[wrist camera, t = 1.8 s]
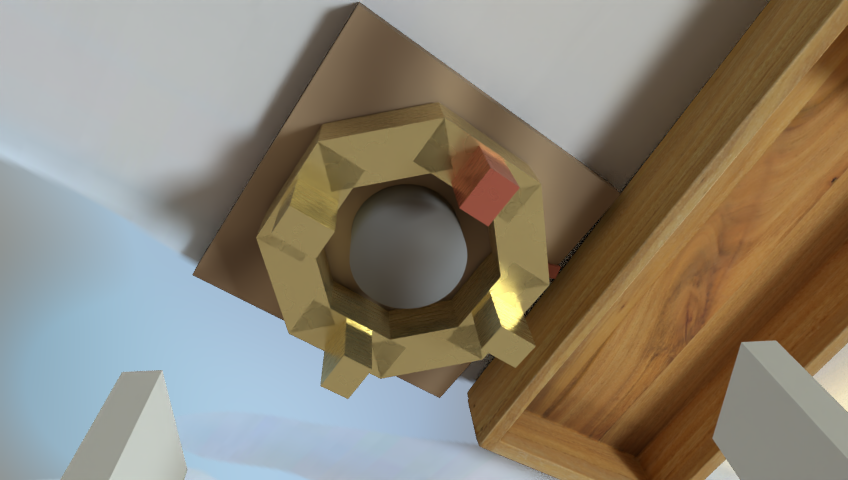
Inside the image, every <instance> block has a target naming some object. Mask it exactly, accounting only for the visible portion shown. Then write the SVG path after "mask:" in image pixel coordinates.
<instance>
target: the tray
mask: <svg viewBox="0 0 848 480" xmlns="http://www.w3.org/2000/svg"><path fill="white" fill-rule="evenodd" d="M525 320H526V322H527V325H528V327H529V330H530V332H531V335H532V337H533V340H534V342H535V345H536V347H535V348H534V349H533V350H532V351H531V352H530V353H529V354H528V355H527V356H526V357H525V358H524V359H523V361H522V362H521V363H520V364H519V365H518V366H517V367H516V368H515V367H513V366H511V365H509V364H508V363H506V362H504V361H502V360H500V359H498V358H497V357H495V358H494V359H493V360H492V361H491V363H490V364H489V365H488V366H487V368H486V369H485V370H484V371H483V373H482V374H481V375H480V377H479V378H478V379H477V380H476V382H475V383H474V384H473V386H472V387H471V388H470V390H469V391H468V393H467V394H468V398H469V399H468V403H469V408H470V412H471V416H472V421H473V425H474V429H475V434H476V439H477V441H478V444H479V446H480V447H482V448H484V449H487V450H489V451H491V452H494V453H496V454H499V455H501V456H504V457H506V458H508V459H511V460H513V461H516V462H518V463H521V464H523V465H526V466H528V467H531V468H533V469H535V470H538V471H540V472H543V473H545V474H548V475H550V476H553V477H555V478H557V479H560V480H705V479H706V478H707V477H708V476H709V475H710V474H711V473H712V472H713V471H714V470H715V469H716V468H717V467H718V466H719V465H720V464H721V463H722V462H724V461H725V460H726V458H725V456H724V455H723V453H722V452H721V450H720V449H719V447H718V446H717V445H716V443H715V442H714V440H713V439H712V438H713V435H714V431H715V428H716V425H717V421H718V418H719V415H720V411H721V408H722V405H723V401H724V398H725V395H726V391H727V388H728V385H729V381H730V378H731V375H732V372H733V368H734V365H735V362H736V358H737V355H738V352H739V348H740V345H741V342H754V341H775V340H776V341H777V342H778V343H779V344H780V345H781V346H782V347H783V348H784V349H785V350H786V351H787V352H788V353H789V354H790V355H791V356H792V357H793V358H794V359H795V360H796V361H797V362H798V363H799V364H800V365H801V366H802V367H803V368H804V369H805V370H806V371H807V372H808V373H809V374H810V375H811V376H812V377H813V376H814V375H815V374H816V373H817V372H818V371H819V370H820V369H821V368H822V367H823V366H824V365H825V364H826V363H827V362H828V361H829V360H830V359H831V358H832V357H833V356H834V355H836V354H837V353H838V352H839V351H840V350H841V349H842V348H843V347H844V346H845V345H846V344H847V343H848V0H770V2H769V3H768V4H767V5H766V7H765V8H764V9H763V10H762V12H761V13H760V14H759V16H758V17H757V18H756V19H755V21H754V22H753V23H752V25H751V26H750V27H749V28H748V30H747V31H746V32H745V34H744V35H743V36H742V38H741V39H740V40H739V42H738V43H737V44H736V45H735V47H734V48H733V49H732V51H731V52H730V53H729V55H728V56H727V57H726V59H725V60H724V61H723V62H722V64H721V65H720V66H719V68H718V69H717V70H716V71H715V73H714V74H713V75H712V77H711V78H710V79H709V80H708V82H707V83H706V84H705V86H704V87H703V88H702V89H701V91H700V92H699V93H698V95H697V96H696V97H695V98H694V100H693V101H692V102H691V104H690V105H689V106H688V107H687V109H686V110H685V111H684V113H683V114H682V115H681V116H680V118H679V119H678V120H677V122H676V123H675V124H674V125H673V127H672V128H671V129H670V131H669V132H668V133H667V135H666V136H665V137H664V139H663V140H662V141H661V142H660V144H659V145H658V146H657V148H656V149H655V150H654V151H653V153H652V154H651V155H650V157H649V158H648V159H647V160H646V162H645V163H644V164H643V166H642V167H641V168H640V169H639V171H638V172H637V173H636V175H635V176H634V177H633V178H632V180H631V181H630V182H629V184H628V185H627V186H626V187H625V189H624V190H623V191H622V193H621V195H620V196H619V197H618V198H617V200H616V201H615V202H614V203H613V204H612V206H611V207H610V208H609V209H608V211H607V212H606V213H605V215H604V216H603V217H602V219H601V220H600V221H599V222H598V224H597V225H596V226H595V228H594V229H593V230H592V232H591V233H590V234H589V235H588V237H587V238H586V239H585V241H584V242H583V243H582V245H581V246H580V247H579V249H578V250H577V251H576V252H575V254H574V255H573V256H572V258H571V259H570V260H569V262H568V263H567V264H566V265H565V267H564V268H563V269H562V271H561V272H560V273H559V275H558V276H557V277H556V279H555V280H554V281H553V282H552V284H551V285H550V286H549V288H548V289H547V290H546V291H545V293H544V294H543V295H542V297H541V298H540V299H539V301H538V302H537V303H536V304H535V306H534V307H533V308H532V310H531V311H530V312H529V313H528V315H527V316H526V317H525Z"/></svg>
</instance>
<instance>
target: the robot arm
mask: <svg viewBox="0 0 848 480" xmlns="http://www.w3.org/2000/svg"><path fill="white" fill-rule="evenodd" d="M712 439H713V440H714V442H715V443H716V445H717V446H718V447H719V449H720V450H721V452H722V453H723V455H724V456H725V458H726V459H727V461H728V462H729V464H730V465H731V467H732V468H733V470H734V471H735V473H736V474H737V476H738V477H739V478H740V480H848V412H847V411H846V410H845V409H844V408H843V407H842V406H841V405H840V404H839V403H838V402H837V401H836V400H835V399H834V398H833V397H832V396H831V395H830V394H829V393H828V392H827V391H826V390H825V389H824V388H823V387H822V386H821V385H820V384H819V383H818V382H817V381H816V380H815V379H814V378H813V377H812V376H811V375H810V374H809V373H808V372H807V371H806V370H805V369H804V368H803V367H802V366H801V365H800V364H799V363H798V362H797V361H796V360H795V359H794V358H793V357H792V356H791V355H790V354H789V353H788V352H787V351H786V350H785V349H784V348H783V347H782V346H781V345H780V344H779V343H778V342H777V341H776V340H775V341H754V342H741V345H740V348H739V352H738V355H737V358H736V362H735V365H734V368H733V372H732V375H731V378H730V381H729V385H728V388H727V391H726V395H725V398H724V401H723V405H722V408H721V411H720V415H719V418H718V421H717V425H716V428H715V431H714V435H713V438H712ZM186 473H187V466H186V462H185V458H184V454H183V450H182V447H181V443H180V439H179V435H178V431H177V427H176V423H175V419H174V415H173V411H172V407H171V403H170V400H169V395H168V391H167V387H166V383H165V380H164V376H163V372H162V370H156V371H136V372H122V373H121V375H120V377H119V379H118V380H117V382H116V384H115V385H114V387H113V389H112V391H111V392H110V394H109V396H108V398H107V399H106V401H105V403H104V405H103V407H102V408H101V410H100V412H99V413H98V415H97V417H96V419H95V420H94V422H93V424H92V426H91V427H90V429H89V431H88V433H87V434H86V436H85V438H84V439H83V441H82V443H81V445H80V446H79V448H78V450H77V452H76V454H75V455H74V457H73V459H72V461H71V462H70V464H69V466H68V467H67V469H66V471H65V473H64V474H63V476H62V478H61V480H184V478H185V475H186Z"/></svg>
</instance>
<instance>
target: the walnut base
mask: <svg viewBox="0 0 848 480" xmlns="http://www.w3.org/2000/svg"><path fill="white" fill-rule="evenodd" d="M436 102H439V103H440V104H442V105H443V106H445V107H446V108H448V109H449V110H451V111H452V112H453V113H455V114H456V115H458V116H459V117H461V118H462V119H463V120H465V121H466V122H468V123H469V124H471V125H472V126H474V127H475V128H476V129H478V130H479V131H481V132H482V133H484V134H485V135H486V136H488V137H489V138H491V139H492V140H494V141H495V142H497V143H498V144H499V145H501V146H502V147H504V148H505V149H507V150H508V151H509V152H511V153H512V154H514V155H515V156H517V157H518V158H520V159H521V160H522V161H524V162H525V163H527V164H528V165H529V167H530V168H531V170H532V171H533V173H534V174H535V176H536V177H537V178H538V180H539V181H540V183H541V187H542V199H543V211H544V223H545V235H546V247H547V259H548V271H549V278H553V279H556V277H557V275H558V273H559V270H560V268H561V267H560V266H559V264H560V262H561V261H562V260H563V259H564V258H565V257H566V256H567V255H568V253H569V252H570V251H571V250H572V249H573V248H574V247H575V246H576V244H577V243H578V242H579V241H580V240H581V239H582V238H583V237H584V235H585V234H586V233H587V232H588V231H589V230H590V229H591V228H592V226H593V225H594V224H595V223H596V222H597V221H598V220H599V219H600V217H601V216H602V215H603V214H604V213H605V212H606V211H607V210H608V208H609V207H610V206H611V205H612V204H613V203H614V202H615V201H616V200H617V198H618V197H619V196H620V195H621V194H620V193H619V192H618V191H617V190H616V189H615V188H614V187H613V186H612V185H611V184H610V183H609V182H607V181H606V180H605V179H603V178H602V177H600V176H599V175H598V174H596V173H595V172H594V171H592V170H591V169H589V168H588V167H587V166H585V165H584V164H582V163H581V162H580V161H578V160H577V159H576V158H574V157H573V156H571V155H570V154H569V153H567V152H566V151H565V150H563V149H562V148H560V147H559V146H558V145H556V144H555V143H553V142H552V141H551V140H549V139H548V138H547V137H545V136H544V135H542V134H541V133H540V132H538V131H537V130H536V129H534V128H533V127H531V126H530V125H529V124H527V123H526V122H524V121H523V120H522V119H520V118H519V117H518V116H516V115H515V114H513V113H512V112H511V111H509V110H508V109H507V108H505V107H504V106H502V105H501V104H500V103H498V102H497V101H495V100H494V99H493V98H491V97H490V96H489V95H487V94H486V93H484V92H483V91H482V90H480V89H479V88H478V87H476V86H475V85H473V84H472V83H471V82H469V81H468V80H466V79H465V78H464V77H462V76H461V75H460V74H458V73H457V72H455V71H454V70H453V69H451V68H450V67H448V66H447V65H446V64H444V63H443V62H442V61H440V60H439V59H437V58H436V57H435V56H433V55H432V54H431V53H429V52H428V51H426V50H425V49H424V48H422V47H421V46H419V45H418V44H417V43H415V42H414V41H413V40H411V39H410V38H408V37H407V36H406V35H404V34H403V33H402V32H400V31H399V30H397V29H396V28H395V27H393V26H392V25H390V24H389V23H388V22H386V21H385V20H384V19H382V18H381V17H379V16H378V15H377V14H375V13H374V12H373V11H371V10H370V9H368V8H367V7H366V6H364V5H363V4H361V3H360V2H359V3H358V4H357V6H356V7H355V9H354V11H353V12H352V14H351V16H350V17H349V19H348V20H347V22H346V24H345V25H344V27H343V29H342V30H341V32H340V34H339V35H338V37H337V38H336V40H335V42H334V43H333V45H332V47H331V48H330V50H329V51H328V53H327V55H326V56H325V58H324V60H323V61H322V63H321V64H320V66H319V68H318V69H317V71H316V73H315V74H314V76H313V77H312V79H311V81H310V82H309V84H308V86H307V87H306V89H305V91H304V92H303V94H302V95H301V97H300V99H299V100H298V102H297V104H296V105H295V107H294V108H293V110H292V112H291V113H290V115H289V117H288V118H287V120H286V121H285V123H284V125H283V126H282V128H281V130H280V131H279V133H278V134H277V136H276V138H275V139H274V141H273V143H272V144H271V146H270V148H269V149H268V151H267V152H266V154H265V156H264V157H263V159H262V161H261V162H260V164H259V165H258V167H257V169H256V170H255V172H254V174H253V175H252V177H251V178H250V180H249V182H248V183H247V185H246V187H245V188H244V190H243V191H242V193H241V195H240V196H239V198H238V200H237V201H236V203H235V205H234V206H233V208H232V209H231V211H230V213H229V214H228V216H227V218H226V219H225V221H224V222H223V224H222V226H221V227H220V229H219V231H218V232H217V234H216V235H215V237H214V239H213V240H212V242H211V244H210V245H209V247H208V248H207V250H206V252H205V253H204V255H203V257H202V258H201V260H200V262H199V263H198V265H197V267H196V269H195V271H194V273H193V276H196V277H198V278H200V279H202V280H204V281H206V282H208V283H210V284H212V285H214V286H216V287H218V288H220V289H222V290H224V291H226V292H228V293H230V294H232V295H234V296H236V297H238V298H240V299H242V300H244V301H246V302H248V303H250V304H252V305H254V306H256V307H258V308H260V309H262V310H264V311H266V312H268V313H270V314H272V315H274V316H276V317H278V318H280V319H282V320H284V318H283V315H282V312H281V309H280V306H279V303H278V300H277V298H276V295H275V292H274V289H273V286H272V283H271V280H270V277H269V274H268V271H267V268H266V265H265V262H264V259H263V257H262V254H261V251H260V248H259V245H258V242H257V239H256V237H257V234H258V231H259V229H260V226H261V224H262V221H263V218H264V216H265V213H266V212H267V210H268V209H269V207H270V206H271V204H272V202H273V201H274V199H275V198H276V196H277V195H278V193H279V192H280V190H281V188H282V187H283V185H284V184H285V182H286V181H287V179H288V177H289V176H290V174H291V173H292V171H293V170H294V168H295V167H296V165H297V163H298V162H299V160H300V159H301V157H302V156H303V154H304V153H305V151H306V149H307V148H308V146H309V145H310V143H311V142H312V140H313V138H314V137H315V135H316V134H317V132H318V131H319V129H320V128H321V126H322V124H326V123H331V122H336V121H341V120H347V119H352V118H357V117H363V116H368V115H373V114H378V113H384V112H389V111H394V110H399V109H405V108H410V107H415V106H421V105H426V104H431V103H436ZM324 249H325V252H326V256H327V259H328V263H329V267H330V270H331V274H332V277H333V281H334V282H336V283H338V284H340V285H342V286H344V287H346V288H347V289H349V290H351V291H353V292H355V293H357V294H359V295H361V296H362V297H364V298H366V299H368V300H370V301H372V302H374V303H375V304H377V305H379V306H381V307H383V308H385V309H387V310H388V311H390V310H395V309H401V308H402V309H412V308H419V307H424V306H427V305H430V304H433V303H435V302H438V301H444V300H449V299H452V298H453V297H454V296H455V295H456V293H457V292H458V291H459V290H460V289H461V287H462V286H463V285H464V284H465V282H466V281H467V280H468V279H469V278H470V276H471V275H472V274H473V273H474V272H475V270H476V269H477V268H478V267H479V266H480V264H481V263H482V262H483V261H484V260H485V258H486V257H487V256H488V255H489V254H490V252H491V246H490V239H489V231H488V226H487V225H485V224H484V223H482V222H480V221H479V220H477V219H476V218H474V217H472V216H471V215H469V214H468V213H466V212H465V211H463V210H461V209H460V208H459V206H458V203H457V200H456V196H455V193H454V190H453V187H452V186H450V185H449V184H447V183H446V182H444V181H442V180H441V179H439V178H438V177H436V176H435V175H433V174H432V173H429V174H424V175H419V176H413V177H408V178H403V179H397V180H392V181H387V182H381V183H376V184H371V185H366V186H360V187H355V188H353V189H352V190H351V192H350V193H349V194H348V196H347V197H346V199H345V200H344V202H343V203H342V205H341V206H340V207H339V209H338V210H337V218H336V226H335V232H334V233H333V235H332V236H331V238H330V239H329V241H328V242H327V243H326V245H325V246H324ZM470 364H471V362H467V363H462V364H457V365H451V366H446V367H441V368H435V369H430V370H424V371H419V372H414V373H408V374H403V375H398V376H397V377H399V378H401V379H403V380H405V381H407V382H409V383H411V384H413V385H415V386H417V387H419V388H421V389H423V390H425V391H427V392H429V393H431V394H433V395H435V396H437V397H439V398H440V397H441V396H442V395H443V394H444V393H445V391H447V389H448V388H449V387H450V386H451V385H452V384H453V383H454V382H455V380H456V379H457V378H458V377H459V376H460V375H461V374H462V373H463V371H464V370H465V369H466V368H467V367H468V366H469V365H470Z"/></svg>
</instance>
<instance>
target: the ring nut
mask: <svg viewBox="0 0 848 480" xmlns="http://www.w3.org/2000/svg"><path fill="white" fill-rule="evenodd" d="M429 173H432V174H433V175H435V176H436V177H438V178H439V179H441V180H442V181H444V182H446V183H447V184H449V185H450V186H452V187H453V190H454V193H455V196H456V200H457V203H458V206H459V208H460V209H461V210H463V211H465V212H466V213H468V214H469V215H471V216H472V217H474V218H476V219H477V220H479V221H480V222H482V223H484V224H485V225H487V226H488V231H489V239H490V246H491V252H490V254H489V255H488V256H487V257H486V258H485V260H484V261H483V262H482V263H481V264H480V266H479V267H478V268H477V269H476V270H475V272H474V273H473V274H472V275H471V276H470V278H469V279H468V280H467V281H466V282H465V284H464V285H463V286H462V287H461V289H460V290H459V291H458V292H457V293H456V295H455V296H454V297H453V298H452V299H449V300H444V301H438V302H435V303H433V304H430V305H427V306H424V307H419V308H412V309H402V308H401V309H395V310H390V311H388V310H387V309H385V308H383V307H381V306H379V305H377V304H375V303H374V302H372V301H370V300H368V299H366V298H364V297H362V296H361V295H359V294H357V293H355V292H353V291H351V290H349V289H347V288H346V287H344V286H342V285H340V284H338V283H336V282H334V281H333V277H332V274H331V270H330V267H329V263H328V259H327V256H326V252H325V249H324V246H325V245H326V243H327V242H328V241H329V239H330V238H331V236H332V235H333V233H334V232H335V226H336V218H337V210H338V209H339V207H340V206H341V205H342V203H343V202H344V200H345V199H346V197H347V196H348V194H349V193H350V192H351V190H352V189H353V188H355V187H360V186H366V185H371V184H376V183H381V182H387V181H392V180H397V179H403V178H408V177H413V176H419V175H424V174H429ZM256 239H257V242H258V245H259V248H260V251H261V254H262V257H263V259H264V262H265V265H266V268H267V271H268V274H269V277H270V280H271V283H272V286H273V289H274V292H275V295H276V298H277V300H278V303H279V306H280V309H281V312H282V315H283V318H284V321H285V324H286V327H287V330H288V332H289V334H291V335H293V336H295V337H297V338H299V339H301V340H303V341H305V342H307V343H309V344H311V345H313V346H315V347H317V348H320V349H322V350H323V351H324V359H323V368H322V377H321V387H324V388H326V389H328V390H330V391H332V392H334V393H337V394H339V395H341V396H343V397H345V398H347V399H348V398H349V397H350V396H351V395H352V394H353V392H354V391H355V390H356V388H357V387H358V386H359V385H360V384H361V382H362V381H363V380H364V379H365V378H366V376H367V375H368V374H369V373H370V374H372V375H374V376H376V377H378V378H380V379H381V378H386V377H392V376H398V375H403V374H408V373H414V372H419V371H424V370H430V369H435V368H441V367H446V366H451V365H457V364H462V363H467V362H473V361H478V360H483V359H484V358H485V356H486V355H487V354H488V353H489V354H491V355H493V356H495V357H497V358H498V359H500V360H502V361H504V362H506V363H508V364H509V365H511V366H513V367H515V368H516V367H517V366H518V365H519V364H520V363H521V362H522V361H523V359H524V358H525V357H526V356H527V355H528V354H529V353H530V352H531V351H532V350H533V349H534V348H535V347H536V345H535V342H534V340H533V337H532V335H531V332H530V330H529V327H528V325H527V322H526V320H525V317H524V315H523V314H524V313H525V312H526V311H527V310H528V308H529V307H530V306H531V305H532V304H533V303H534V302H535V301H536V300H537V298H538V297H539V296H540V295H541V294H542V293H543V292H544V291H545V290H546V288H547V287H548V286H549V285H550V283H549V271H548V259H547V247H546V235H545V223H544V211H543V199H542V187H541V183H540V181H539V180H538V178H537V177H536V176H535V174H534V173H533V171H532V170H531V168H530V167H529V165H528V164H527V163H525V162H524V161H522V160H521V159H520V158H518V157H517V156H515V155H514V154H512V153H511V152H509V151H508V150H507V149H505V148H504V147H502V146H501V145H499V144H498V143H497V142H495V141H494V140H492V139H491V138H489V137H488V136H486V135H485V134H484V133H482V132H481V131H479V130H478V129H476V128H475V127H474V126H472V125H471V124H469V123H468V122H466V121H465V120H463V119H462V118H461V117H459V116H458V115H456V114H455V113H453V112H452V111H451V110H449V109H448V108H446V107H445V106H443V105H442V104H440V103H439V102H436V103H431V104H426V105H421V106H415V107H410V108H405V109H399V110H394V111H389V112H384V113H378V114H373V115H368V116H363V117H357V118H352V119H347V120H341V121H336V122H331V123H326V124H322V126H321V128H320V129H319V131H318V132H317V134H316V135H315V137H314V138H313V140H312V142H311V143H310V145H309V146H308V148H307V149H306V151H305V153H304V154H303V156H302V157H301V159H300V160H299V162H298V163H297V165H296V167H295V168H294V170H293V171H292V173H291V174H290V176H289V177H288V179H287V181H286V182H285V184H284V185H283V187H282V188H281V190H280V192H279V193H278V195H277V196H276V198H275V199H274V201H273V202H272V204H271V206H270V207H269V209H268V210H267V212H266V213H265V216H264V218H263V221H262V224H261V226H260V229H259V231H258V234H257V237H256Z"/></svg>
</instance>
